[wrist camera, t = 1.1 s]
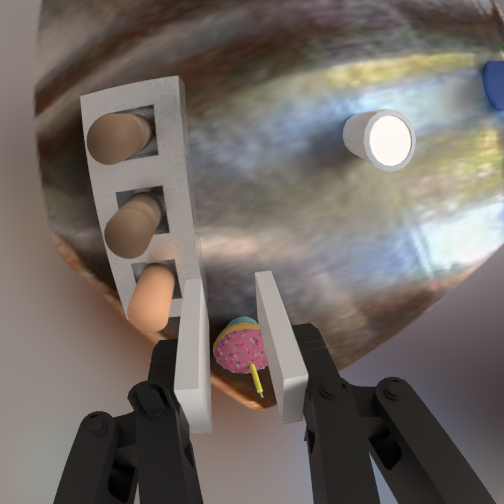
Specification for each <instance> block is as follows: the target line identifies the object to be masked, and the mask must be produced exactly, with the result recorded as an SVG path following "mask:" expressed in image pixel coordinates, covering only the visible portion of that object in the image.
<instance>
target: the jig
mask: <svg viewBox="0 0 504 504" xmlns="http://www.w3.org/2000/svg"><path fill="white" fill-rule="evenodd" d="M80 99H81V111H82V122H83V131H84V139H85V147H86V154H87V161H88V167H89V173H90V179H91V185H92V190H93V195H94V200H95V205H96V210H97V214H98V219H99V223H100V228H101V232H102V236H103V240H104V244H105V248H106V252H107V255H108V259H109V263H110V266H111V270H112V273H113V277H114V280H115V283H116V287H117V290H118V293H119V296H120V299H121V302H122V305H123V308H124V311H125V314H126V317H127V320H129V319H128V316H127V309H128V306H129V303H130V301H131V298H132V295H133V293H134V290H135V287H136V285H137V282H138V280H139V277H140V275H141V272H142V270H143V268H144V267H145V266H147V265H148V264H151V263H162V264H165V265H166V266H168V267H169V268H170V269H171V270H172V271H173V273H174V276H175V284H174V289H173V295H172V300H171V306H170V311H169V317H176V316H181V311H182V303H183V295H184V287H185V280H187V279H197V278H201V279H202V285H203V291H204V297H205V303H206V309H207V282H206V275H205V269H204V262H203V255H202V248H201V240H200V233H199V225H198V217H197V209H196V201H195V193H194V184H193V175H192V165H191V156H190V145H189V135H188V123H187V111H186V98H185V84H184V82H183V80H182V79H181V78H180V77H179V76H171V77H165V78H159V79H153V80H147V81H142V82H137V83H132V84H127V85H123V86H118V87H114V88H110V89H106V90H102V91H98V92H94V93H91V94H87V95H83V96H80ZM106 114H139V115H142V116H144V117H145V118H147V119H148V121H149V122H150V124H151V126H152V138H151V141H150V143H149V145H148V146H147V147H146V148H145V149H144V150H142V151H141V152H139V153H137V154H135V155H133V156H131V157H129V158H127V159H125V160H123V161H121V162H119V163H117V164H113V165H104V164H101V163H99V162H97V161H96V160H94V159H93V157H92V156H91V155H90V153H89V151H88V148H87V134H88V131H89V128H90V127H91V125H92V124H93V122H94V121H95V120H96V119H98V118H99V117H101V116H103V115H106ZM138 192H148V193H151V194H153V195H155V196H156V197H157V198H158V199H159V201H160V202H161V205H162V209H163V214H162V218H161V220H160V222H159V224H158V226H157V228H156V230H155V233H154V235H153V237H152V239H151V241H150V243H149V246H148V248H147V250H146V251H145V252H144V253H143V254H142V255H141V256H139V257H137V258H133V259H125V258H121V257H119V256H117V255H115V254H114V253H113V252H112V251H111V250H110V249H109V248H108V246H107V244H106V242H105V238H104V230H105V227H106V224H107V223H108V221H109V220H110V219H111V218H112V217H113V216H114V214H115V213H116V212H117V211H118V210H119V209H120V208H121V207H122V206H123V205H124V204H125V203H126V201H127V200H128V199H129V198H130V197H131V196H132V195H134V194H136V193H138Z"/></svg>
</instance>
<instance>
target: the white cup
mask: <svg viewBox="0 0 504 504" xmlns="http://www.w3.org/2000/svg"><path fill="white" fill-rule="evenodd" d="M343 140H344V143H345V146H346V147H347V148H348V150H349V151H350V152H352V153H353V154H355V155H357V156H359V157H360V158H362V159H364V160H366V161H367V162H369V163H371V164H373V165H374V166H376V167H378V168H379V169H381V170H383V171H391V172H394V171H397V170H399V169H402V168H403V167H404V166H405V165H406V164H407V163H408V162H409V161H410V160H411V158H412V156H413V153H414V151H415V143H416V137H415V133H414V129H413V126H412V125H411V123H410V121H409V120H408V118H407V117H405V116H404V115H403V114H401V113H400V112H399V111H395V110H390V109H385V110H377V111H370V112H364V113H359V114H355V115H352V116H351V117H350V118H349V119H348V120H347V121H346V123H345V125H344V127H343Z"/></svg>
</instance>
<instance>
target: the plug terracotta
mask: <svg viewBox="0 0 504 504" xmlns="http://www.w3.org/2000/svg"><path fill="white" fill-rule="evenodd" d="M174 284H175V276H174V273H173V271H172V270H171V269H170V268H169V267H168V266H166V265H165V264H162V263H151V264H148V265H147V266H145V267H144V268H143V270H142V272H141V275H140V277H139V280H138V282H137V285H136V287H135V290H134V293H133V295H132V298H131V301H130V303H129V306H128V309H127V316H128V319H129V321H130V322H131V323H132V324H133V325H134V326H135V327H136V328H138V329H139V330H142V331H145V332H157V331H160V330H162V329H163V328H164V327H165V326H166V324H167V322H168V317H169V311H170V306H171V300H172V295H173V289H174Z"/></svg>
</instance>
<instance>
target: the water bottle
mask: <svg viewBox="0 0 504 504" xmlns="http://www.w3.org/2000/svg"><path fill="white" fill-rule="evenodd" d="M483 80H484V87H485V91H486V94H487V96H488V99H489V100H490V102H491V104H492V105H493V106H494V107H495V108H496V109H498V110H503V111H504V61H489V62H488V63H487V64H486V65H485V68H484V73H483Z"/></svg>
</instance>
